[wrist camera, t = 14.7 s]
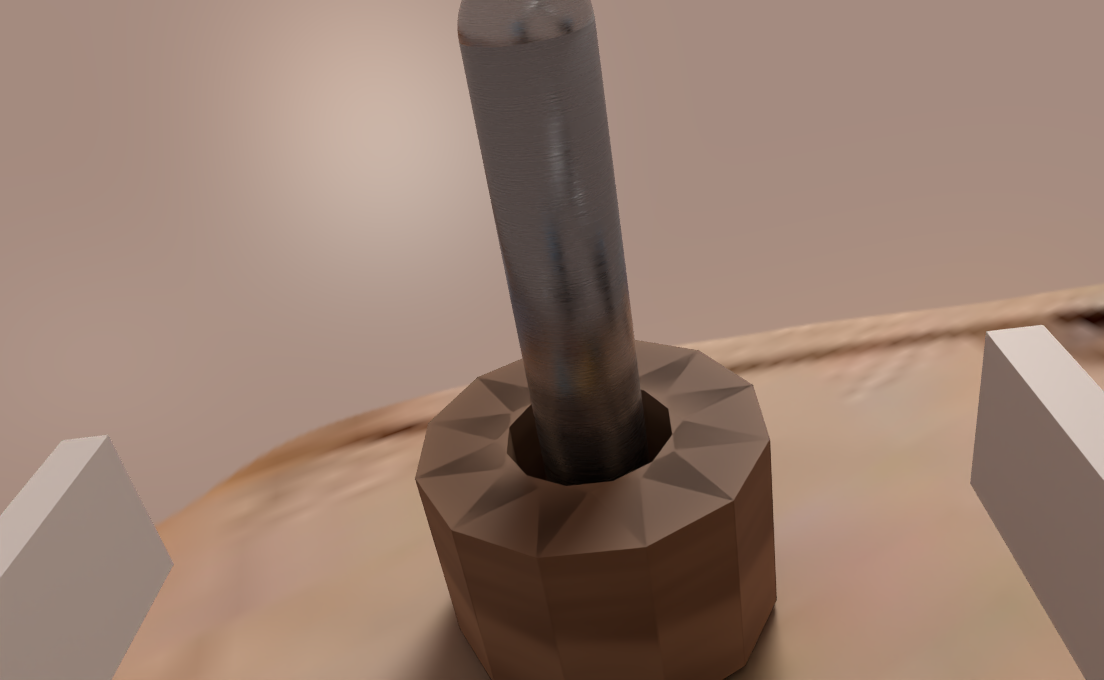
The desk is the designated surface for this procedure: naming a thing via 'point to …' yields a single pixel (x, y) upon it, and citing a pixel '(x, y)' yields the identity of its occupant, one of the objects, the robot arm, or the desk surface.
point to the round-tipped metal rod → (558, 228)
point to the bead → (607, 531)
